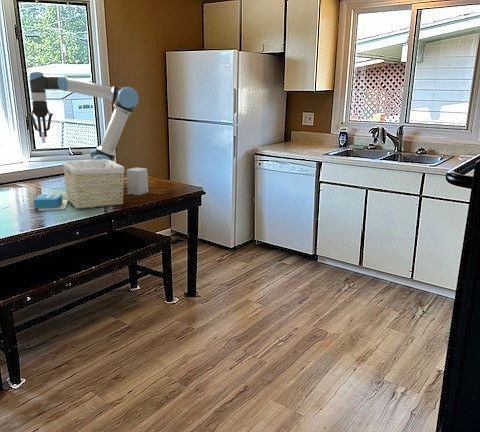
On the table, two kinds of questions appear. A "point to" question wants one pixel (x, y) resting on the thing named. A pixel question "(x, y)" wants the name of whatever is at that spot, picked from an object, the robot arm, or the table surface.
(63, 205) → the white flat rectangular panel
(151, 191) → the table surface
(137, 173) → the supplement box
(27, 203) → the table surface
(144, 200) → the table surface
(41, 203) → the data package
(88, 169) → the basket
